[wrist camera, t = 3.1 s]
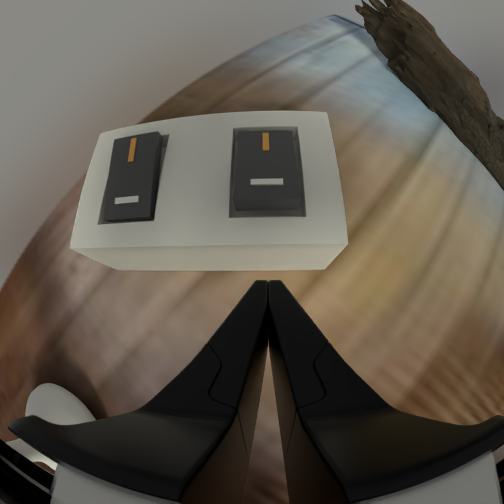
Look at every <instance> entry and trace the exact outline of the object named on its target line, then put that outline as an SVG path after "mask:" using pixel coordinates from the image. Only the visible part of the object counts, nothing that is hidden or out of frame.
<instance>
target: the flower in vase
mask: <svg viewBox="0 0 504 504" xmlns="http://www.w3.org/2000/svg"><path fill="white" fill-rule="evenodd" d="M30 415H36V416H38V417H40V418H42V419H44V420H46V421H48V422H50V423H53V424H59V425H73V424H80V423H85V422H90V421H95V420H96V419H95V418H94V416H93V415H92V413H91V412H90V411H89V410H88V408H87V407H86V406H85V405H84V404H83V403H82V402H81V401H80V400H79V399H78V398H77V397H76V396H74V395H73V394H72V393H70V392H69V391H67V390H66V389H64V388H62V387H60V386H58V385H55V384H51V383H45V384H41V385H39V386H38V387H37V388H36V389H34V390H33V391H32V392H31V394H30V396H29V398H28V402H27V406H26V416H30ZM5 443H7V444H8V445H9V446H11V447H12V448H13V449H15V450H16V451H18V452H19V453H20V454H22V455H23V456H25V457H26V458H28V459H29V460H31V461H32V462H35V461H40V462H44V463H46V464H47V465H48V466H50V467H51V468H52V469H54V470H56V467H57V463H55V462H54V461H52V460H50V459H49V458H47V457H46V456H44V455H43V454H41V453H40V452H38V451H37V450H35V449H34V448H32V447H31V446H30V445H28V444H27V443H25V442H24V441H23V440H21V439H20V438H19V439H17V440H14V441H10V442H5Z"/></svg>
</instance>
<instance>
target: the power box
mask: <svg viewBox="0 0 504 504" xmlns="http://www.w3.org/2000/svg"><path fill="white" fill-rule="evenodd" d="M156 131H158V132H159V133H160V134H161V135H162V137H163V142H162V150H161V159H160V169H159V181H158V194H157V203H156V210H155V217H154V220H137V221H122V222H109V221H106V220H104V211H105V200H106V191H107V182H108V174H109V167H110V161H111V155H112V149H113V143H114V139H119V138H123V137H128V136H133V135H138V134H144V133H150V132H156ZM269 131H292V134H293V141H294V148H295V155H296V163H297V171H298V179H299V187H300V195H301V202H300V209H299V210H254V211H235V206H234V186H235V173H236V161H237V149H238V137H239V132H269ZM347 244H348V236H347V227H346V219H345V211H344V203H343V196H342V189H341V183H340V177H339V171H338V165H337V159H336V154H335V149H334V144H333V139H332V134H331V129H330V124H329V120H328V115H327V112H314V111H247V112H229V113H216V114H206V115H197V116H188V117H181V118H174V119H167V120H161V121H155V122H149V123H144V124H139V125H134V126H130V127H124V128H120V129H116V130H112V131H107V132H104V133H101V134H100V137H99V140H98V142H97V145H96V148H95V151H94V153H93V156H92V159H91V163H90V166H89V169H88V172H87V175H86V179H85V182H84V186H83V189H82V193H81V197H80V201H79V205H78V209H77V214H76V218H75V223H74V228H73V233H72V238H71V244H70V249H72V250H74V251H76V252H78V253H80V254H82V255H85V256H87V257H89V258H91V259H93V260H95V261H98V262H100V263H102V264H104V265H107V266H109V267H111V268H114V269H116V270H148V271H270V270H325V268H326V267H327V266H328V265H329V264H330V263H331V262H332V261H333V260H334V259H335V258H336V257H337V256H338V254H339V253H340V252H341V251H342V250H343V249H344V248H345V247H346V246H347Z"/></svg>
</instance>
